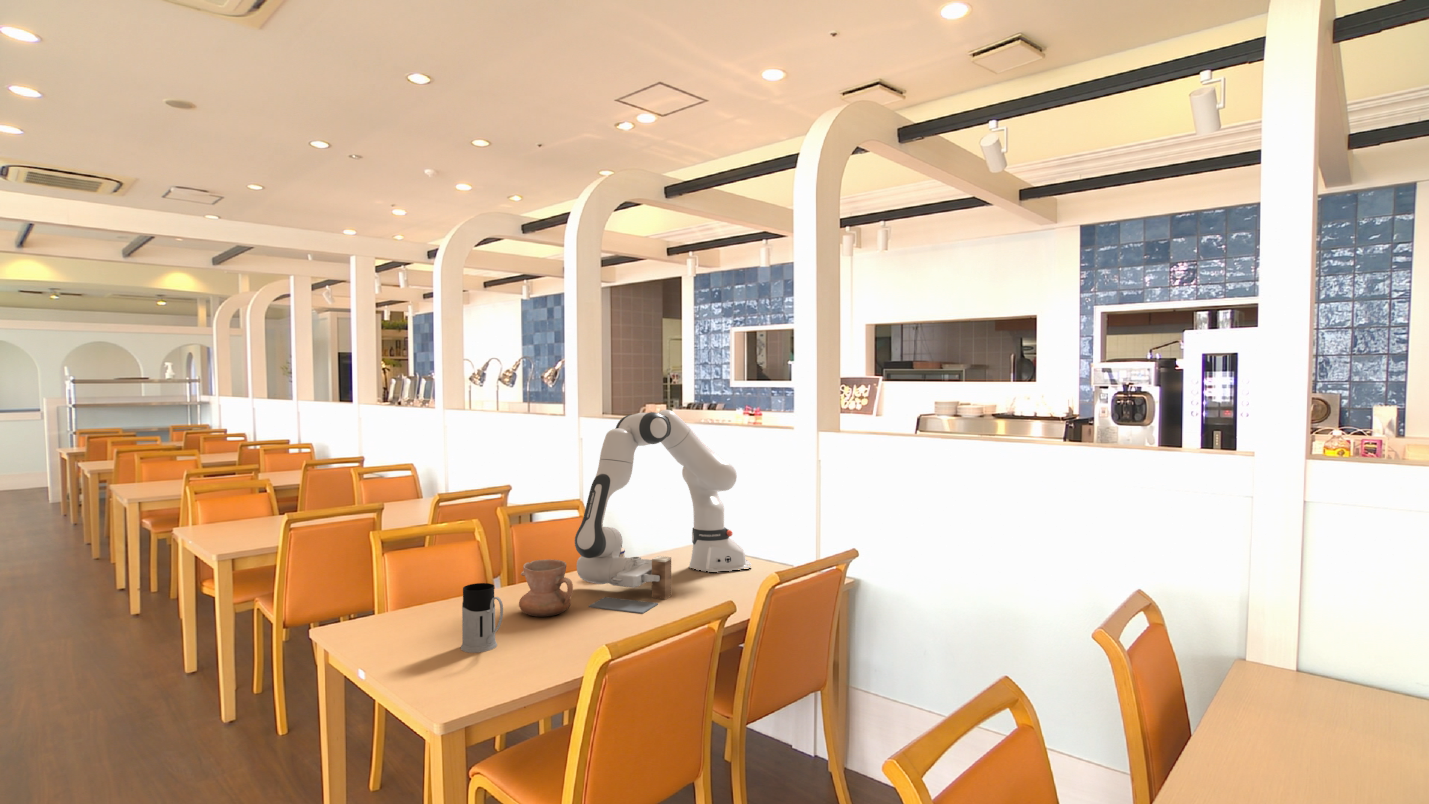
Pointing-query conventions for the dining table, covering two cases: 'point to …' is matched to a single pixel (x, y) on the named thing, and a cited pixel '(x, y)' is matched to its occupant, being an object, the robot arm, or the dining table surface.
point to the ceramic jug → (545, 588)
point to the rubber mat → (623, 605)
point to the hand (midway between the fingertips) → (664, 575)
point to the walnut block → (662, 568)
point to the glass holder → (479, 618)
